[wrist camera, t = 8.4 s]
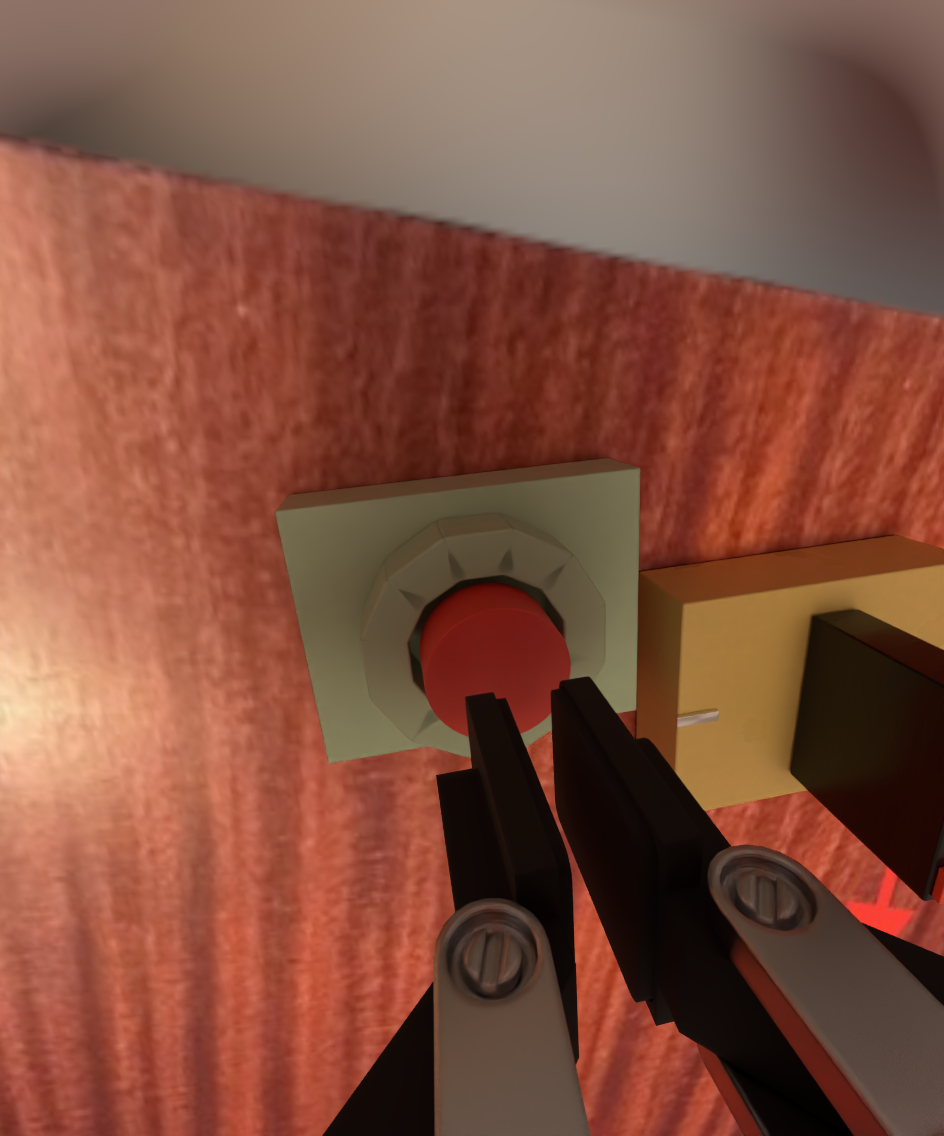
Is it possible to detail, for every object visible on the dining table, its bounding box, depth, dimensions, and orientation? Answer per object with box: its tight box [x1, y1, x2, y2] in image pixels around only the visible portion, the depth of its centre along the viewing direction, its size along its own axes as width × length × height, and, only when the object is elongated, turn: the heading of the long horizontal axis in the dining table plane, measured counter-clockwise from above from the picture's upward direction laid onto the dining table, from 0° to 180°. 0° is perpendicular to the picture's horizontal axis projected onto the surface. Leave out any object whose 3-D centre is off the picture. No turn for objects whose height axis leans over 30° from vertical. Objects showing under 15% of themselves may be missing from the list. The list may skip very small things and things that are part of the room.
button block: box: [275, 458, 640, 763], centre depth 16 cm, size 10×8×4 cm
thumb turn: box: [790, 609, 944, 904], centre depth 15 cm, size 6×2×5 cm, turn 4°
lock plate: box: [636, 535, 944, 811], centre depth 19 cm, size 10×8×3 cm
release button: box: [419, 582, 571, 737], centre depth 14 cm, size 4×4×2 cm
